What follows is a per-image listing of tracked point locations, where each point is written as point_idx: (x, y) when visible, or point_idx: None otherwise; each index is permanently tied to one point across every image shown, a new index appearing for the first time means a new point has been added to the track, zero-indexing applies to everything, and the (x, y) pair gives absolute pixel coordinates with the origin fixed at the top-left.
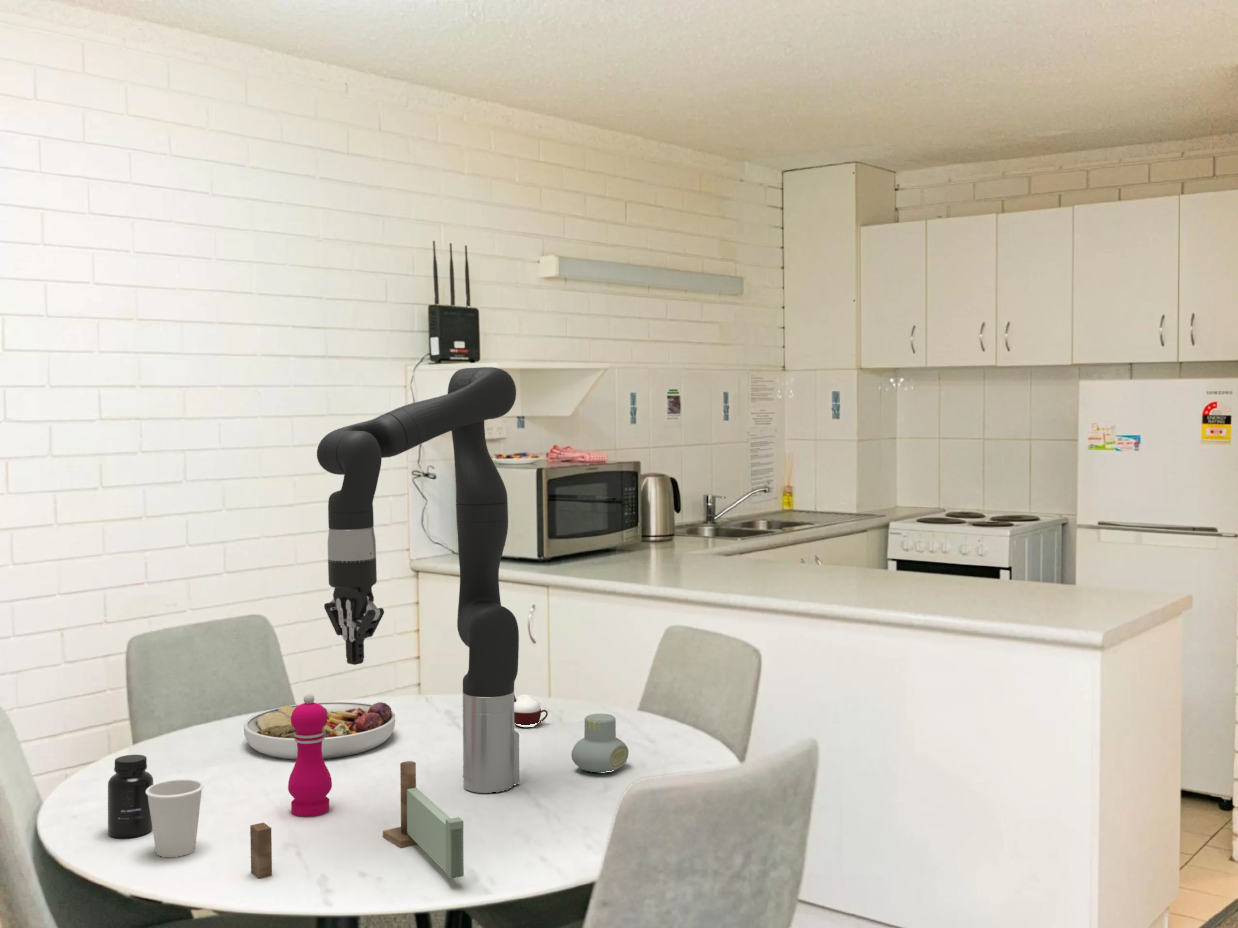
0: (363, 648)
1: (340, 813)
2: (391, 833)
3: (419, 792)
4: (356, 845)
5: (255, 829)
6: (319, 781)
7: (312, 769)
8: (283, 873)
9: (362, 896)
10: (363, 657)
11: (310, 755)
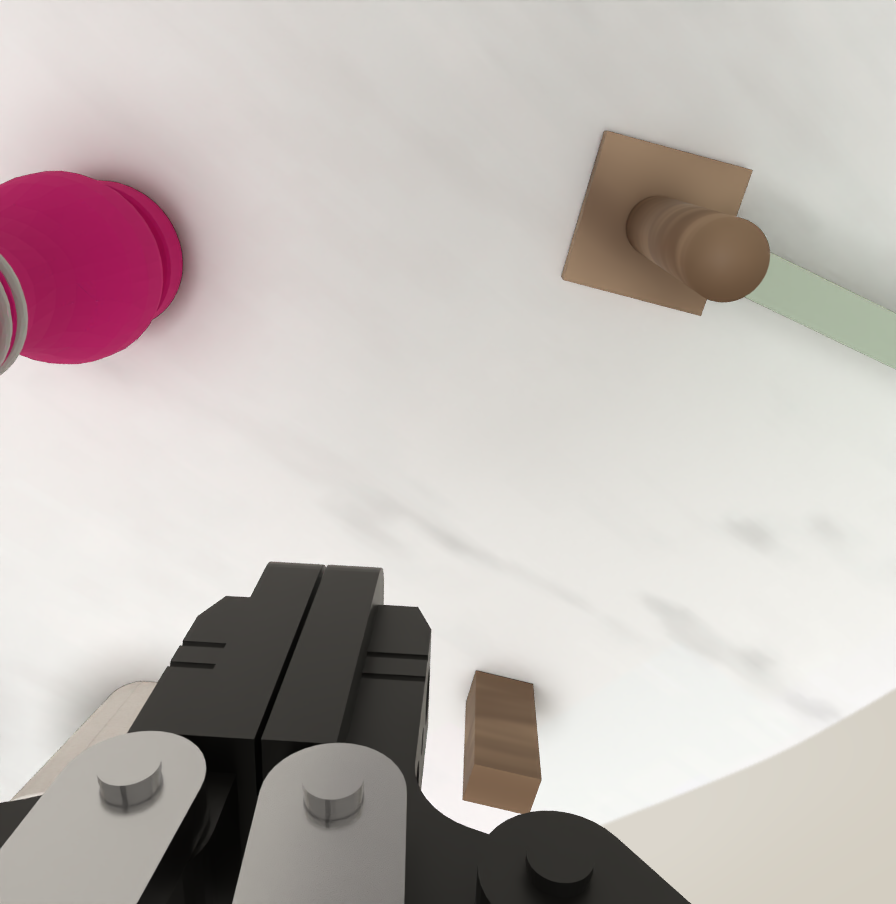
0: (422, 707)
1: (224, 201)
2: (611, 278)
3: (818, 287)
4: (547, 389)
5: (508, 809)
6: (138, 291)
7: (90, 316)
8: (548, 658)
9: (871, 636)
10: (427, 632)
11: (43, 327)
